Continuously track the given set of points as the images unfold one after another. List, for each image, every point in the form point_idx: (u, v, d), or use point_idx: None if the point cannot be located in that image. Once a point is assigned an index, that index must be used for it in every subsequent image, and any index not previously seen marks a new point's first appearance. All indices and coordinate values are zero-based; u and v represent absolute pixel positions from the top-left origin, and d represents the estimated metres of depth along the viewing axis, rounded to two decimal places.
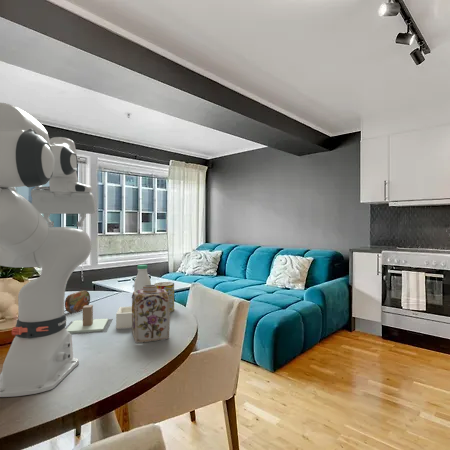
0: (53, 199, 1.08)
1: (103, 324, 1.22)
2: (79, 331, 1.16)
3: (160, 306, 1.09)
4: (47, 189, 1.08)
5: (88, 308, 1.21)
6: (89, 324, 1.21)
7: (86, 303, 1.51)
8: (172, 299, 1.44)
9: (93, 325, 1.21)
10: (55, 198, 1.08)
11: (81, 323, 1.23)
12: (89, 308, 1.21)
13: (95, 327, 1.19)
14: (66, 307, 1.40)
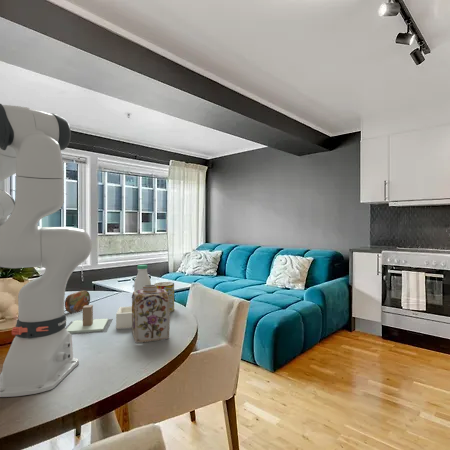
0: None
1: (103, 324, 1.22)
2: (79, 331, 1.16)
3: (160, 306, 1.09)
4: None
5: (88, 308, 1.21)
6: (89, 324, 1.21)
7: (86, 303, 1.51)
8: (172, 299, 1.44)
9: (93, 325, 1.21)
10: None
11: (81, 323, 1.23)
12: (89, 308, 1.21)
13: (95, 327, 1.19)
14: (66, 307, 1.40)
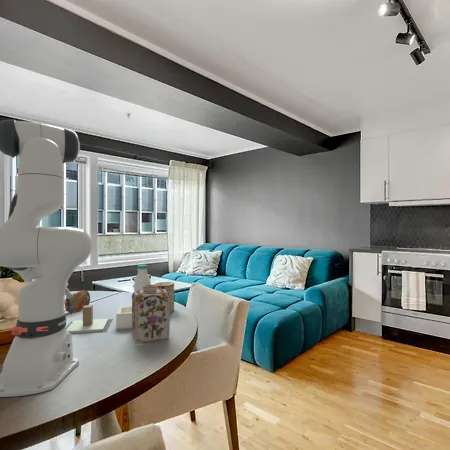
0: None
1: (103, 324, 1.22)
2: (79, 331, 1.16)
3: (160, 306, 1.09)
4: None
5: (88, 308, 1.21)
6: (89, 324, 1.21)
7: (86, 303, 1.51)
8: (172, 299, 1.44)
9: (93, 325, 1.21)
10: None
11: (81, 323, 1.23)
12: (89, 308, 1.21)
13: (95, 327, 1.19)
14: (66, 307, 1.40)
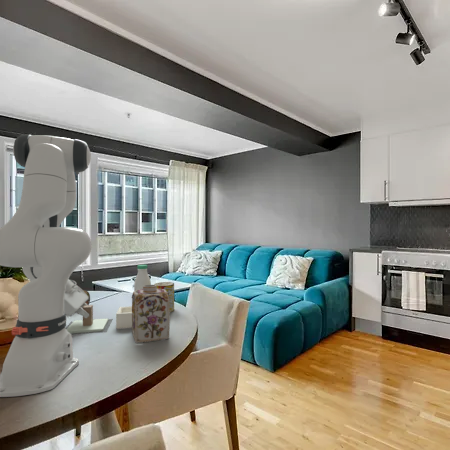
0: (71, 297, 1.18)
1: (103, 324, 1.22)
2: (79, 331, 1.16)
3: (160, 306, 1.09)
4: None
5: (88, 308, 1.21)
6: (89, 324, 1.21)
7: (86, 303, 1.51)
8: (172, 299, 1.44)
9: (93, 325, 1.20)
10: (71, 295, 1.19)
11: (81, 323, 1.23)
12: (89, 308, 1.21)
13: (95, 327, 1.19)
14: None
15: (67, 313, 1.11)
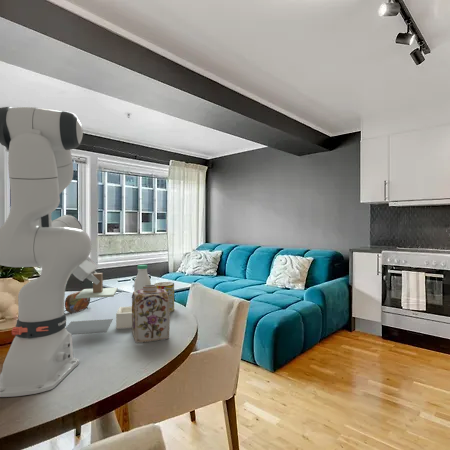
0: (82, 263, 1.19)
1: (113, 291, 1.23)
2: (90, 296, 1.16)
3: (160, 306, 1.09)
4: None
5: (98, 275, 1.21)
6: (99, 291, 1.22)
7: (86, 303, 1.51)
8: (172, 299, 1.44)
9: (103, 292, 1.21)
10: None
11: (91, 291, 1.24)
12: (99, 275, 1.22)
13: (105, 293, 1.19)
14: (66, 307, 1.40)
15: (79, 277, 1.12)
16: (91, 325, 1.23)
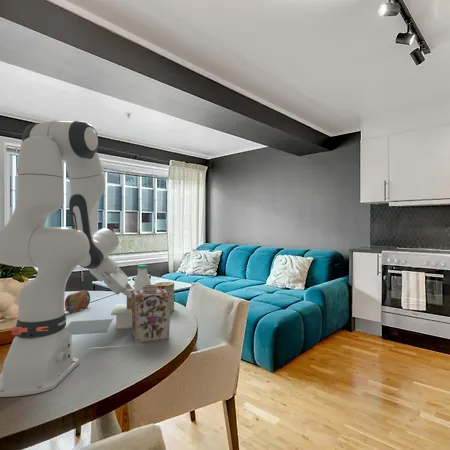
0: (116, 276, 1.21)
1: None
2: (125, 313, 1.19)
3: (160, 306, 1.09)
4: (107, 273, 1.19)
5: (132, 291, 1.24)
6: None
7: (86, 303, 1.51)
8: (172, 299, 1.44)
9: None
10: (116, 275, 1.22)
11: (124, 306, 1.26)
12: (133, 291, 1.24)
13: None
14: (66, 307, 1.40)
15: (115, 291, 1.14)
16: (91, 325, 1.23)
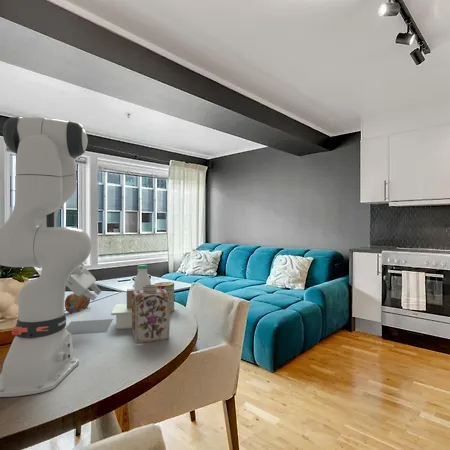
0: (80, 278, 1.18)
1: None
2: (125, 313, 1.19)
3: (160, 306, 1.09)
4: None
5: (132, 291, 1.24)
6: None
7: (86, 303, 1.51)
8: (172, 299, 1.44)
9: None
10: (79, 276, 1.19)
11: (124, 306, 1.26)
12: (133, 291, 1.24)
13: None
14: (66, 307, 1.40)
15: (76, 292, 1.12)
16: (91, 325, 1.23)
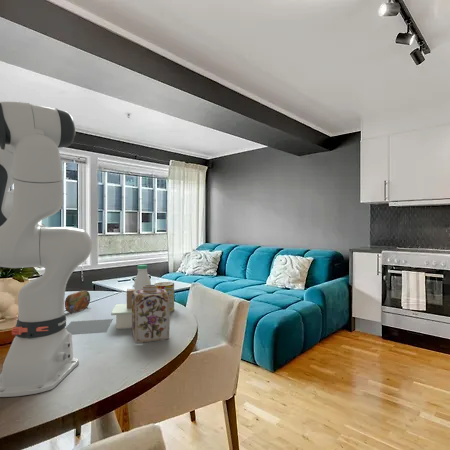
0: None
1: None
2: (125, 313, 1.19)
3: (160, 306, 1.09)
4: None
5: (132, 291, 1.24)
6: None
7: (86, 303, 1.51)
8: (172, 299, 1.44)
9: None
10: None
11: (124, 306, 1.26)
12: (133, 291, 1.24)
13: None
14: (66, 307, 1.40)
15: None
16: (91, 325, 1.23)
